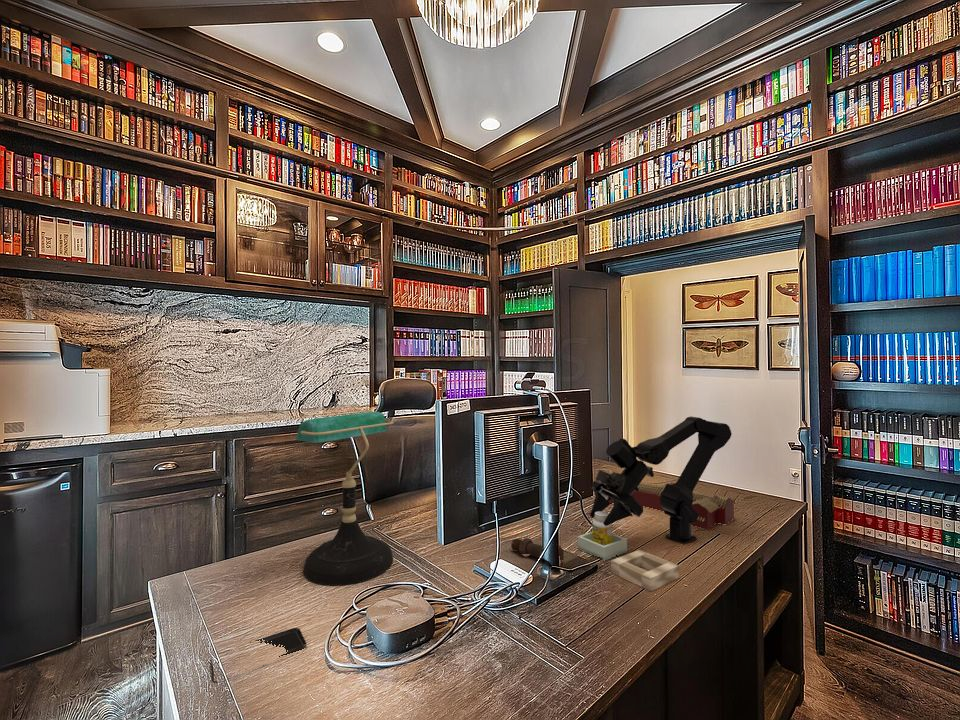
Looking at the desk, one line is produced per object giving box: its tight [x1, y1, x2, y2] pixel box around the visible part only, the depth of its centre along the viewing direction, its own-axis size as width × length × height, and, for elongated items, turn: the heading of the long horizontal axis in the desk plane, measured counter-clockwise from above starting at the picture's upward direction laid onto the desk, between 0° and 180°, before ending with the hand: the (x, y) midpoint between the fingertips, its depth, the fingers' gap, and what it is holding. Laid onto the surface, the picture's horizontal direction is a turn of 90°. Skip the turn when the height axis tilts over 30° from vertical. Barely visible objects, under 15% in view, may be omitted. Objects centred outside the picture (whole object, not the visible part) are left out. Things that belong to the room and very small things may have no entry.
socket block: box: [610, 549, 680, 592], centre depth 109 cm, size 11×11×3 cm
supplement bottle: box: [592, 510, 613, 546], centre depth 124 cm, size 5×5×10 cm
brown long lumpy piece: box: [510, 537, 565, 561], centre depth 120 cm, size 6×5×15 cm
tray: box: [577, 531, 628, 561], centre depth 124 cm, size 10×10×4 cm
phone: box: [250, 627, 307, 657], centre depth 81 cm, size 8×1×15 cm
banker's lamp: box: [295, 411, 394, 586], centre depth 117 cm, size 26×23×40 cm
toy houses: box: [605, 481, 735, 530], centre depth 159 cm, size 45×20×10 cm, turn 43°
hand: (597, 520), depth 124 cm, fingers open, 7 cm apart
